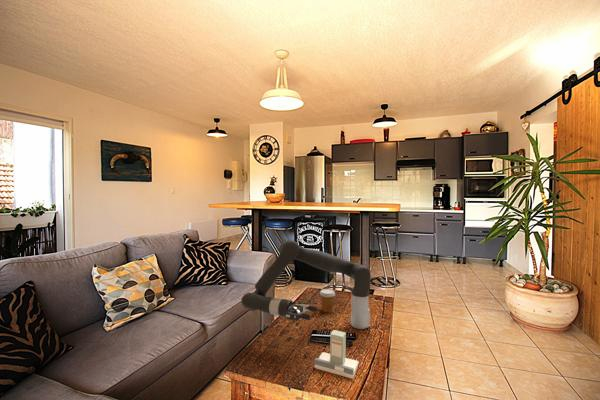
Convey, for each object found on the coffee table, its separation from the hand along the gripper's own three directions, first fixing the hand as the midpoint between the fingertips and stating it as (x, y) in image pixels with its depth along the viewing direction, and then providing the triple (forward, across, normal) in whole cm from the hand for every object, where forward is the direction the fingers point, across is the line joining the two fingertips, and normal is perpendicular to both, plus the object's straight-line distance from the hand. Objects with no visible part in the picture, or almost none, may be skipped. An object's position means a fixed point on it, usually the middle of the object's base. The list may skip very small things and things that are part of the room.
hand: (314, 313), depth 121 cm
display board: (+11, -1, +20) cm, 23 cm away
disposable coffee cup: (-11, +51, +20) cm, 56 cm away
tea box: (+11, 0, +18) cm, 21 cm away
